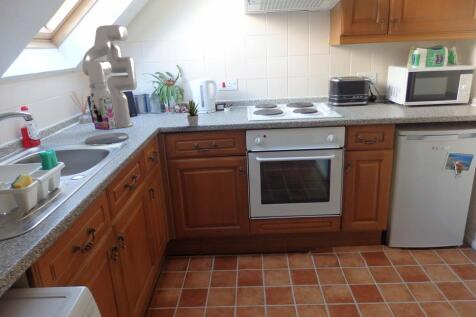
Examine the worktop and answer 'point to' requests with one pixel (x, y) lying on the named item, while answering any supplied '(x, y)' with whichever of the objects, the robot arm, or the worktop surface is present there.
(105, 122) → the candy bar box
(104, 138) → the plate
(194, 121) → the house plant
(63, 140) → the worktop surface
